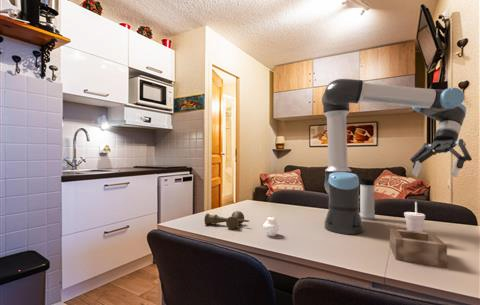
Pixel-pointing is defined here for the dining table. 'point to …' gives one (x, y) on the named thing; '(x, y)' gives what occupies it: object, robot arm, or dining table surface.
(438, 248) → the brown open square box
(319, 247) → the dining table surface
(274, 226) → the white vase
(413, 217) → the smoothie
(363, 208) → the travel mug
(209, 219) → the kendama
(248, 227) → the dining table surface
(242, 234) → the dining table surface
